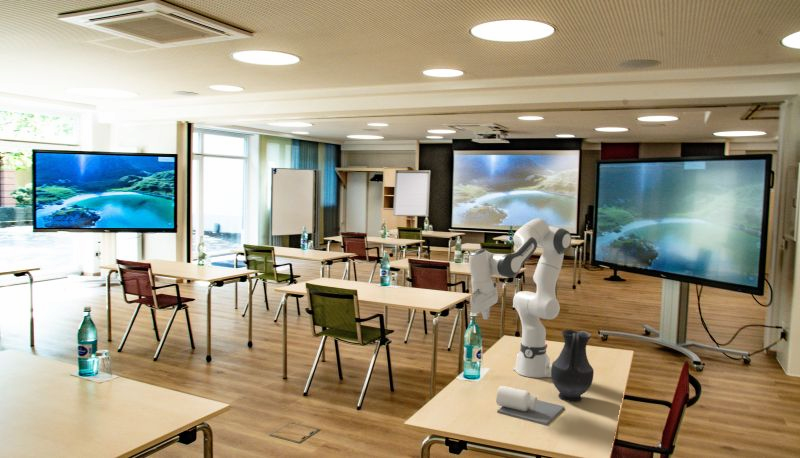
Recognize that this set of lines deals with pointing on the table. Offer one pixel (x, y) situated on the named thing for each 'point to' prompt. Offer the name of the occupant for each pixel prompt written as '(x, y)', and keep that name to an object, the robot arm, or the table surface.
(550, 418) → the mat
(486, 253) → the robot arm
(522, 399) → the pill bottle
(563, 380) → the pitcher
